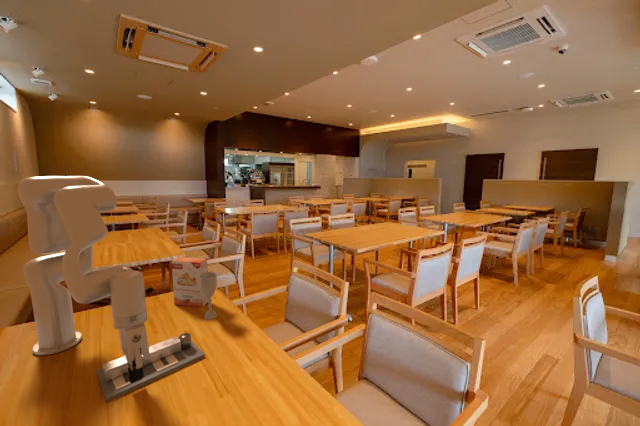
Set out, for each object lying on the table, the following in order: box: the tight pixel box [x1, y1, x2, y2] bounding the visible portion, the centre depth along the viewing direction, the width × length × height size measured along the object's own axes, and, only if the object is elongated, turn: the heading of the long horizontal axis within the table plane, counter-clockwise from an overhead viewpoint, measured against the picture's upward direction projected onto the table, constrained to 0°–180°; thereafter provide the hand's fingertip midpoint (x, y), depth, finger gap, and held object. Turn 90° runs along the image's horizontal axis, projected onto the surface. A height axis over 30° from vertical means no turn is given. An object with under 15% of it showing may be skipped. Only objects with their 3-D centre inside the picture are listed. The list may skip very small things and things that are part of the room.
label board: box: [96, 337, 206, 403], centre depth 89 cm, size 15×26×1 cm, turn 135°
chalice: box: [200, 271, 218, 320], centre depth 118 cm, size 7×7×18 cm
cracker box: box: [171, 256, 209, 308], centre depth 128 cm, size 14×6×21 cm, turn 81°
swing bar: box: [102, 332, 192, 381], centre depth 89 cm, size 4×24×4 cm, turn 135°
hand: (136, 379), depth 79 cm, fingers closed
